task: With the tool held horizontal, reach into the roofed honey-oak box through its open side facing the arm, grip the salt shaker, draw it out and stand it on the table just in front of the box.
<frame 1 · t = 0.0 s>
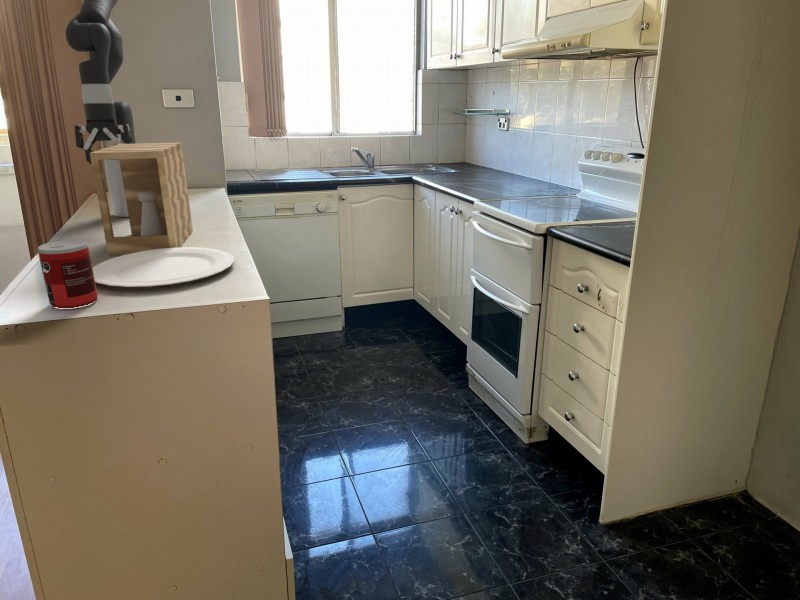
hand: (107, 163, 168), 17 cm above the counter, tool pointing down, fingers open, 8 cm apart
plate: (164, 273, 128), on the counter
canned food: (75, 304, 109), on the counter
salt shaker: (154, 243, 152), on the counter
open-side box: (154, 242, 152), on the counter
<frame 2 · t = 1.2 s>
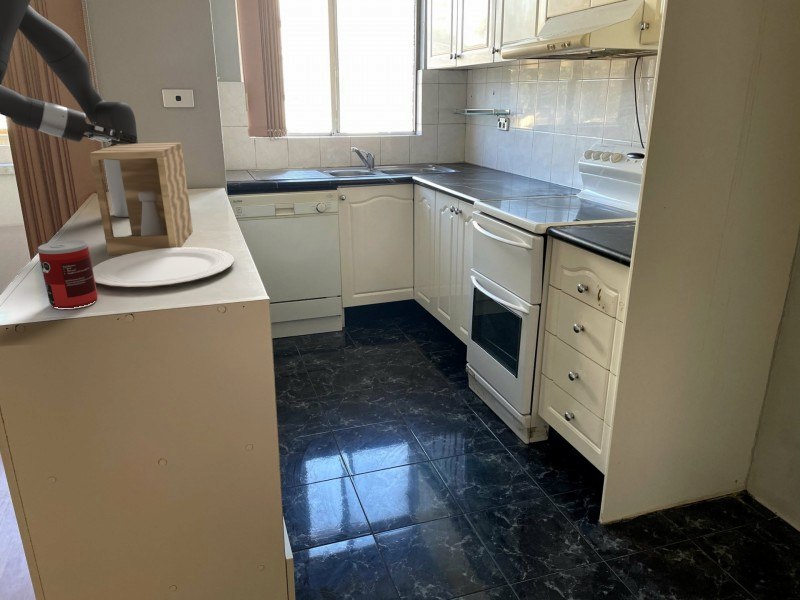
hand: (130, 141, 157), 24 cm above the counter, tool tilted 70°, fingers open, 7 cm apart
nothing on the counter moved.
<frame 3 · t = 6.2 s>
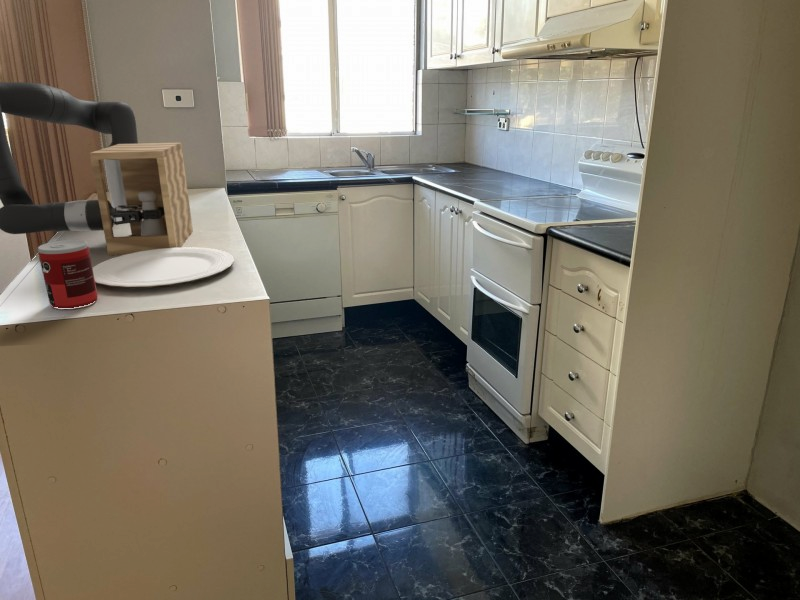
hand: (162, 212, 150), 8 cm above the counter, tool horizontal, fingers closed on salt shaker, 3 cm apart
salt shaker: (154, 243, 152), on the counter, touching gripper
everything else where it was.
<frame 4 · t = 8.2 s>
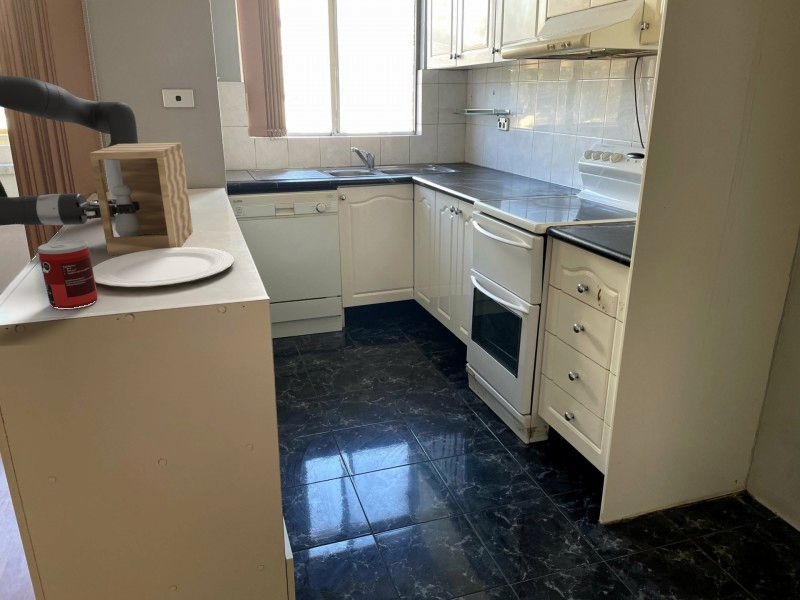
hand: (136, 207, 148), 9 cm above the counter, tool horizontal, fingers closed on salt shaker, 3 cm apart
salt shaker: (129, 238, 151), point 1 cm above the counter, touching gripper
everything else where it was.
when the fingers open (9 cm above the counter, at t = 10.3 s): salt shaker drops 1 cm, on the counter.
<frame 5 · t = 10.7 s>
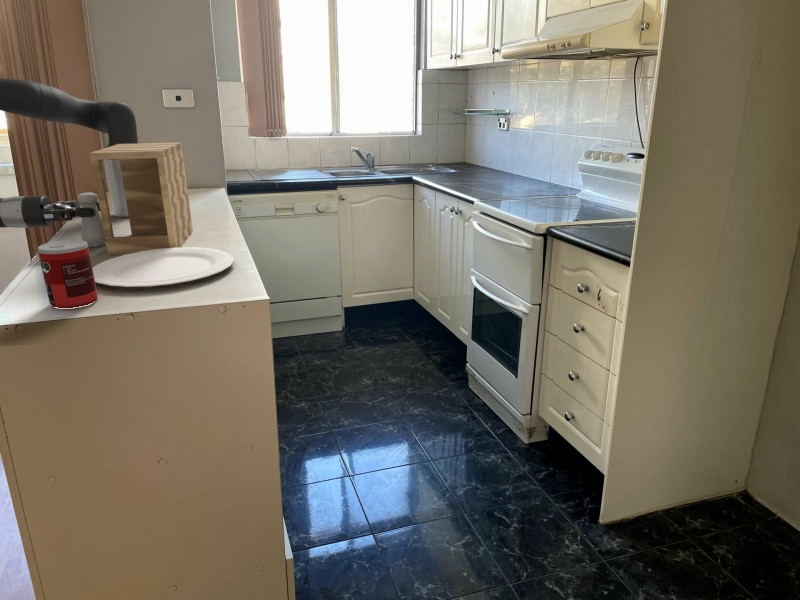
hand: (99, 209, 147), 9 cm above the counter, tool horizontal, fingers open, 6 cm apart
salt shaker: (96, 245, 150), on the counter
everything else where it was.
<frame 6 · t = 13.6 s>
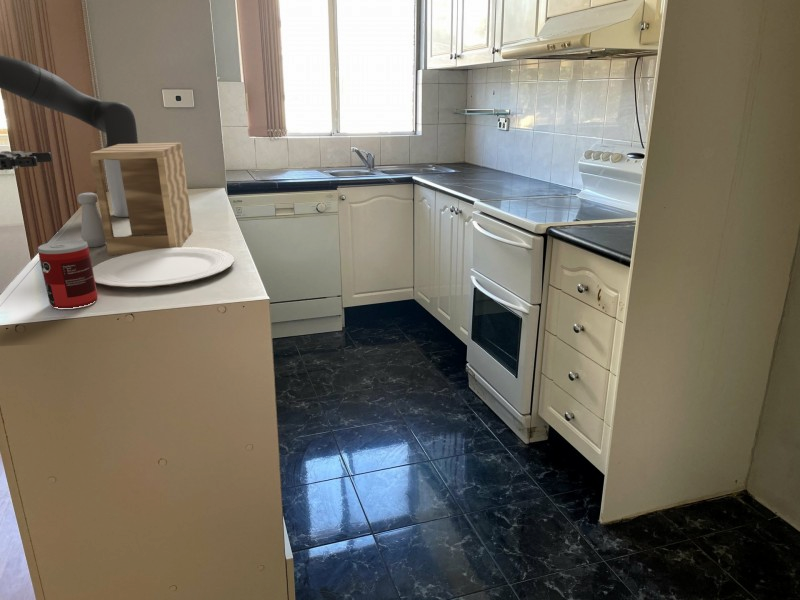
hand: (44, 159, 142), 21 cm above the counter, tool horizontal, fingers open, 8 cm apart
nothing on the counter moved.
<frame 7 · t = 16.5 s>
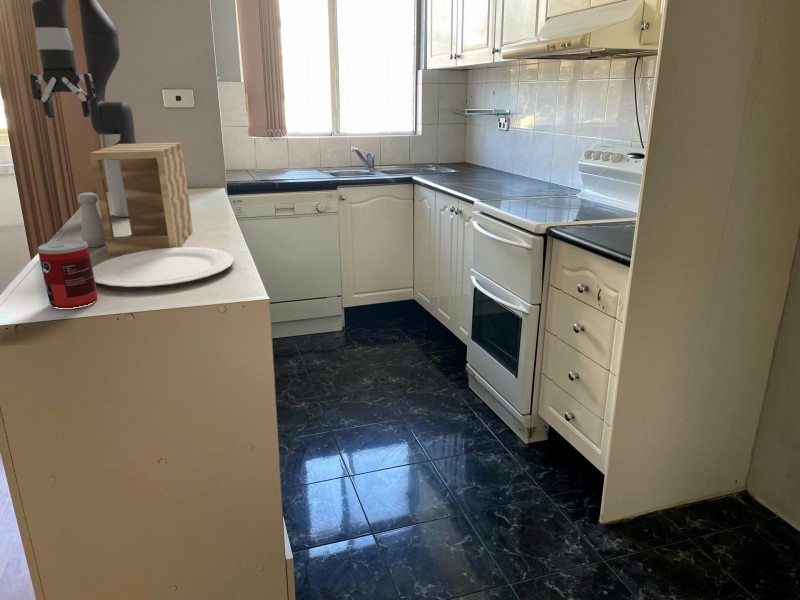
hand: (69, 117, 153), 30 cm above the counter, tool pointing down, fingers open, 8 cm apart
nothing on the counter moved.
at the end: salt shaker inside the target area (0.4 cm from its centre), on the counter; salt shaker tilted 0°; the gripper is holding nothing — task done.
